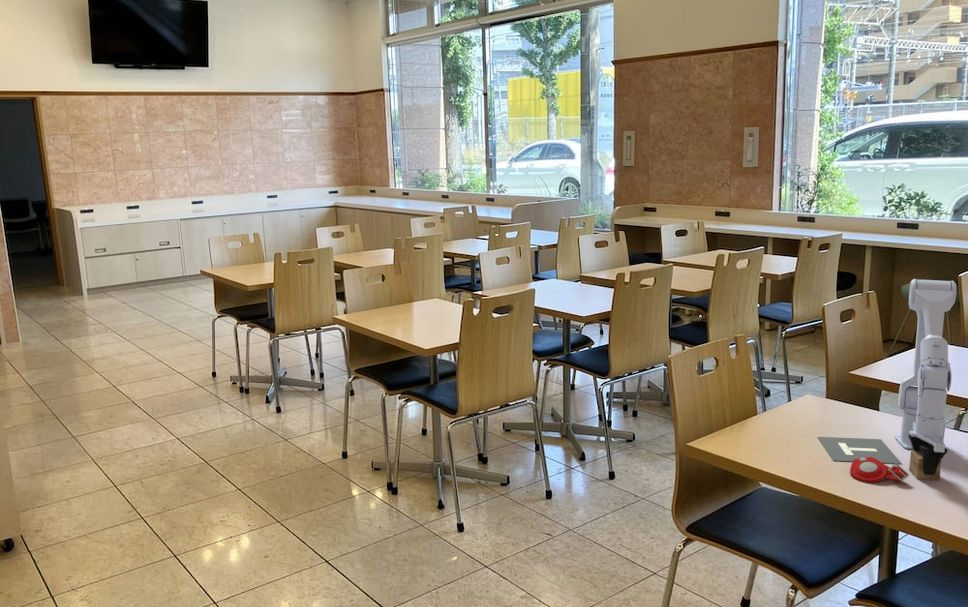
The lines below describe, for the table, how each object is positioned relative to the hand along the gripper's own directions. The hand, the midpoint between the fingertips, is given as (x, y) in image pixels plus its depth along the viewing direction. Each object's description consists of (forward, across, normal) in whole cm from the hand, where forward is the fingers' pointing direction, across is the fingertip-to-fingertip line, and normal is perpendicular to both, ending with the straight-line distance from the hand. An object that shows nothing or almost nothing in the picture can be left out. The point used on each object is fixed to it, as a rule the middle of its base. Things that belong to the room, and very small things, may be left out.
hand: (924, 469), depth 191 cm
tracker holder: (+2, +3, -12) cm, 12 cm away
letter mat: (+1, -14, -11) cm, 18 cm away
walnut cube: (+1, 0, 0) cm, 1 cm away
